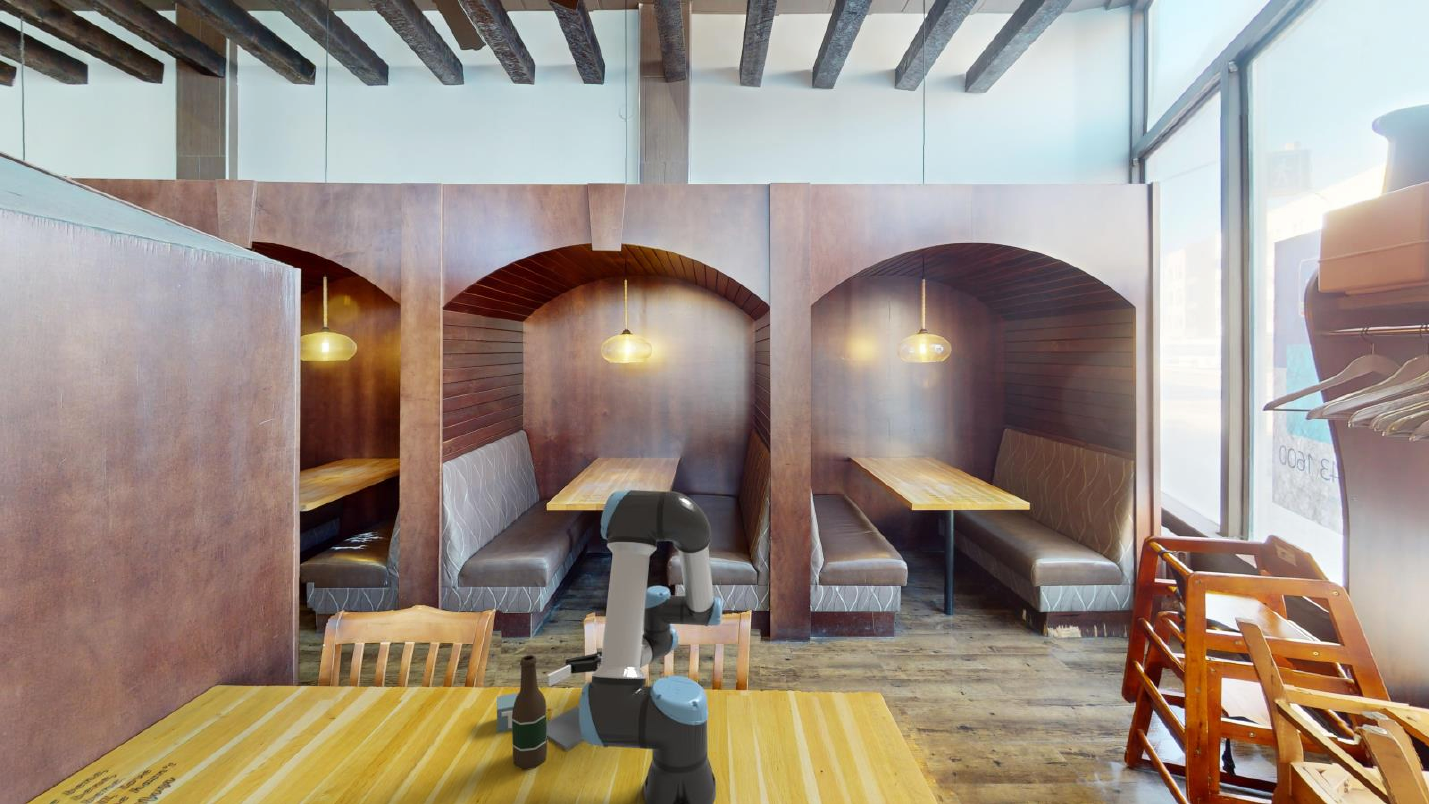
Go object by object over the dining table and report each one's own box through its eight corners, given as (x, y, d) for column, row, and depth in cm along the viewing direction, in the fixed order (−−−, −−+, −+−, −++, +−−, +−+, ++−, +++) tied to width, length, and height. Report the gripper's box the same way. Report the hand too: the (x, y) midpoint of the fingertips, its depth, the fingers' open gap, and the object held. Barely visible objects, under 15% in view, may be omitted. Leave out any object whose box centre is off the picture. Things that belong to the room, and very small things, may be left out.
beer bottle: (537, 772, 131) (535, 668, 129) (505, 768, 132) (503, 664, 131) (553, 750, 138) (552, 651, 137) (523, 746, 140) (521, 648, 138)
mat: (606, 726, 147) (606, 723, 147) (566, 750, 138) (566, 747, 138) (576, 708, 155) (576, 705, 155) (537, 730, 146) (536, 727, 146)
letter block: (497, 719, 151) (496, 696, 150) (522, 714, 153) (521, 692, 152) (497, 733, 145) (496, 710, 144) (523, 728, 147) (522, 705, 147)
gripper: (664, 686, 151) (598, 725, 134) (601, 655, 167) (535, 687, 150) (663, 658, 150) (597, 693, 134) (600, 629, 166) (535, 658, 150)
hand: (564, 690), depth 142 cm, fingers open, 13 cm apart
